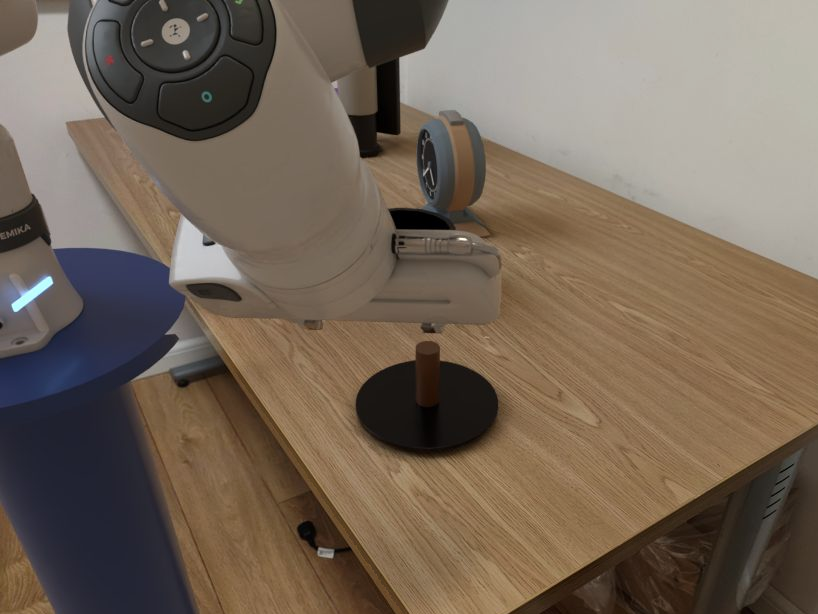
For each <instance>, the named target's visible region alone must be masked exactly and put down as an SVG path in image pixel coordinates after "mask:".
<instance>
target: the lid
mask: <svg viewBox="0 0 818 614" xmlns="http://www.w3.org/2000/svg"><path fill="white" fill-rule="evenodd" d="M414 350H415V360H407V361H402V362H399V363H396V364H392V365H389V366H387V367H384V368H383V369H380V370H378V372H375V373H374V374H372V375H371V376H370V377H369V378H368V379H366V380H365V382H364V383H363V384H362V386H361V387H360V388H359V390H358V392H357V394H356V397H355V406H354V407H355V414H356V417H357V419H358V422H359V423H360V425H361V426H362V428H363V429H364V430H365V431H366V432H367V433H368V434H369V435H370V436H371V437H372V438H374V439H376V440H377V441H379V442H380V443H382V444H385V445H387V446H389V447H393V448H396V449H399V450H404V451H408V452H416V453H438V452H445V451H446V452H447V451H450V450H451V451H452V450H455V449H458V448H462V447H464V446H466V445H468V444H472V443H473V442H475V441H477V440H479V439H480V438H481V437H482V436H484V435H485V434H486V433H487V432H489V430H490V429H491V428H492V426H493V425H494V423H495V422H496V419H497V417H498V413H499V402H500V401H499V397H498V394H497V391H496V390H495V388H494V386H493V385H492V384H491V382H489V380H488V379H487V378H485V377H484V376H483V375H482V374H480V373H479V372H477V371H476V370H474V369H472V368H470V367H467V366H465V365H463V364H459V363H456V362H451V361H446V360H441V346H440V344H439V343H437V342H436V341H433V340H422V341H419V342H418V343H417V344H416V345H415V348H414Z"/></svg>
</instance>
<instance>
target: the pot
mask: <svg viewBox="0 0 818 614" xmlns="http://www.w3.org/2000/svg"><path fill="white" fill-rule="evenodd" d="M388 210H389V212H390V215H391V217H392V219H393V222H394V224H395V227H396V230H456V227H455V226H454V224H453V223H452V221H451V220H450V219H448V218H446V217H444V216H442V215H441V214H439V213H435V212H431V211H427V210H423V209H417V208H414V207H413V208H412V207H392V208H391V207H390V208H388Z"/></svg>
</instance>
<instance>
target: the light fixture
mask: <svg viewBox="0 0 818 614" xmlns="http://www.w3.org/2000/svg"><path fill="white" fill-rule="evenodd" d="M400 70H401V69H400V58H397V59H394V60H391V61H389V62H386V63H383V64H380V65H377V66H374V67H372V68H369V67H368V66H366V67H364V68H362V69H360V70H358V71H356V72H354V73H351V74H349V75H347V76H345V77H343V78H341V79H339V80H336V88H337V89H338V96H339V98H340V100H341V102H342V104H343V106H344V108H345V111H346V113H347V115H348V117H349V119H350V122H351V124H352V126H353V129H354V131H355V134H356V137H357V140H358V145H359V152H360V157H361V158H362V159H365V158H371V157H376V156H378V155H379V154H381V151H382V149H381V148H382V147H381V144H380V143H379V142H378V134H385V135H390V136H399V135H401V131H402V130H401V75H400V74H401V73H400Z"/></svg>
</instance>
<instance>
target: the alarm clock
mask: <svg viewBox="0 0 818 614" xmlns="http://www.w3.org/2000/svg"><path fill="white" fill-rule="evenodd" d="M416 140H417V141H416V152H415V154H416V155H415V157H416V169H417V177H418V182H419V186H420V189H421V192H422V194H423V197H424V199H425V201H426V202H427V204H425V205H423V206H420V207H418V208H416V209H423V210H427V211H431V212H435V213H439V214H441V215H442V216H444V217H446V218H448V219H450V220H451V221H452V223H453V224H454V226H455V227H456V231H464V232H469V233H472V234H475V235H477V236H479V237H480V238H487V237H492V236H491V235H492V234H491V233H490V232H489V231H488V229H486V225H485V224H484V223H483V222H482V220H481V219H480V218H479V217H478V216H477V215H476V214H475V213H474V212H473V210H472V209H470V206H473V205H474V204H475V203H476V202H477V201H478V200H479V199H480V198H481V196H482V194H483V191H484V187H485V183H486V175H487V162H486V151H485V147H484V142H483V139H482V136H481V134H480V131H479V130H478V127H477V126H476V125H475V124H474V122H473V121H471V120H470V119H467V118H465V117H462V115H461V113H459V112H458V111H457V110H456V109H455V110H454V109H450V110H439V112H438V115H437V116H436V117H435V118H433V119H432V118H431V119H429V120H427V121H426V122H425V123H424V124H422V126H421V127H420V129H419V133H418V137H417V139H416Z"/></svg>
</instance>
